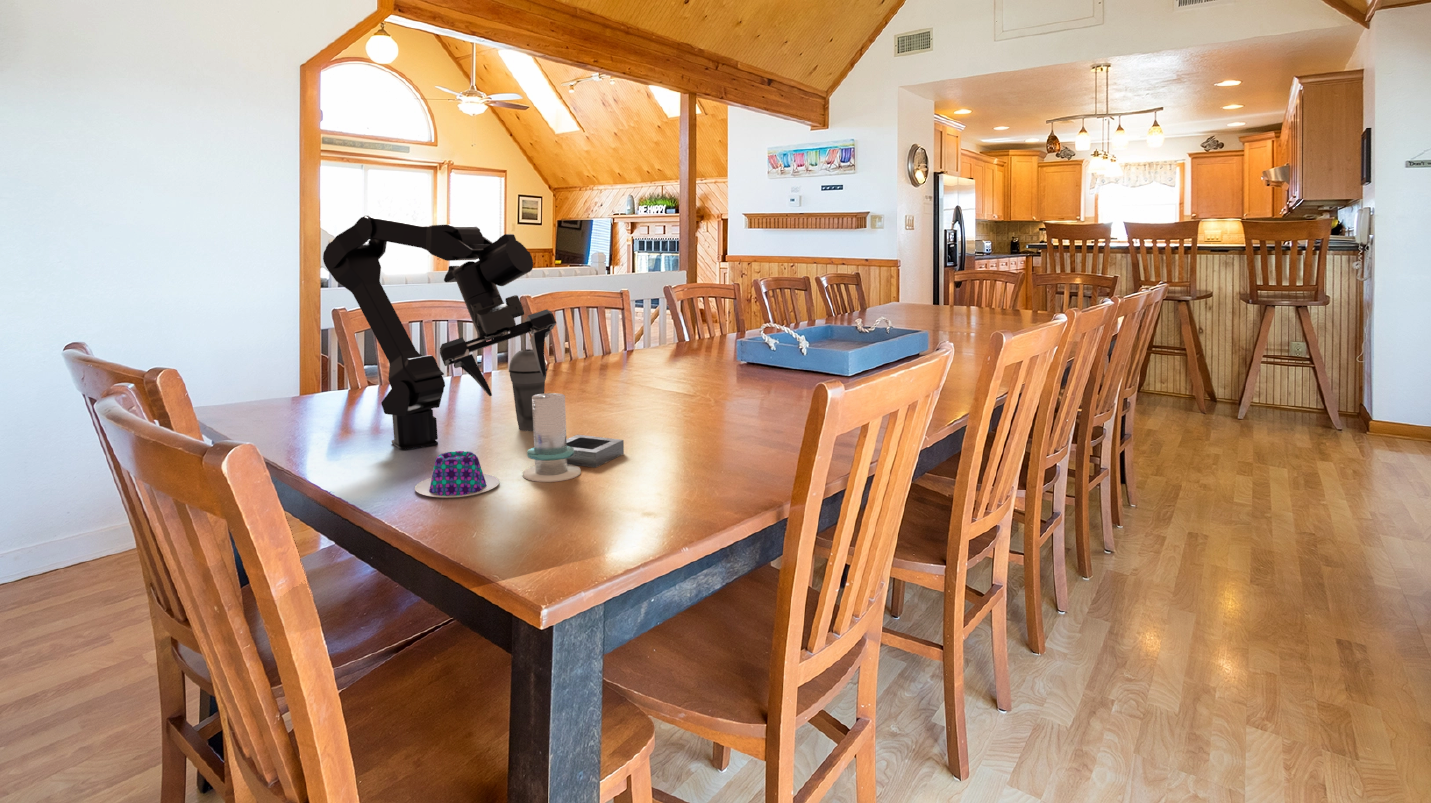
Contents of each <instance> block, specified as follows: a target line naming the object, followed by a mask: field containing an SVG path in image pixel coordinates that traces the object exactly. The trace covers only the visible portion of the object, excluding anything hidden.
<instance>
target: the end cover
mask: <svg viewBox="0 0 1431 803" xmlns="http://www.w3.org/2000/svg"><path fill="white" fill-rule="evenodd" d="M532 409H533V431H532V433H533V447H532V448H529V449H528V450H527V451H526V454H527V458H528V459H531V460H534V466H535V473H537V474H539V475H559V474H563V473H565V472H567V470H568V469H567V458H569V457H571V456H573V455H574V449H573V448H572V447H570V446H567V440H566V439H567V421H566V420H567V418H566V417H567V416H566V395H565V394H563V393H556V392H553V393H551V392H549V393H545V392H544V394H537V395H534V396H532Z"/></svg>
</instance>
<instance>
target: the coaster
mask: <svg viewBox="0 0 1431 803" xmlns="http://www.w3.org/2000/svg"><path fill="white" fill-rule="evenodd" d="M567 469H568V470H567V472H565V473H563V474H559V475H539V474H537V473H535V465H533V466H529V467H527V468H525V469H524V470H522V477H523V478H524V479H526V480H527V481H531V482H538V483H554V482H564V481H569V480H573V479H575V478H578V476H580V475H581V473H582V471H581V470H582V469H581V467H580V466H579V465H572V464H567Z"/></svg>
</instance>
